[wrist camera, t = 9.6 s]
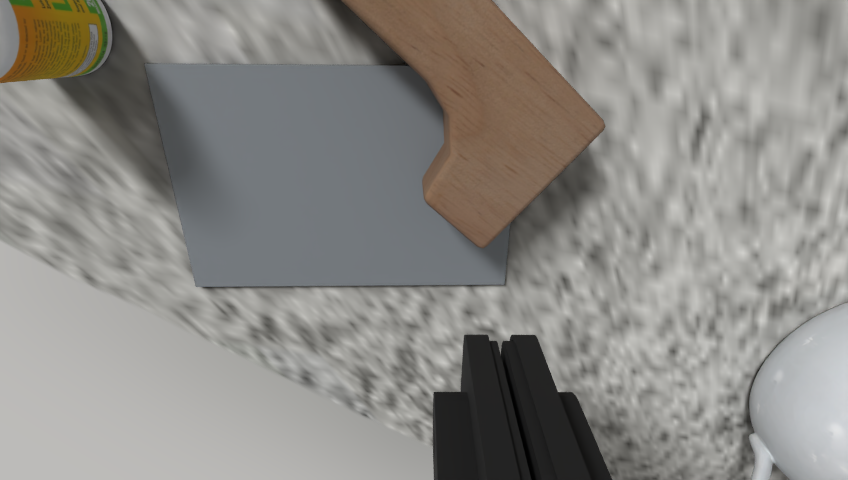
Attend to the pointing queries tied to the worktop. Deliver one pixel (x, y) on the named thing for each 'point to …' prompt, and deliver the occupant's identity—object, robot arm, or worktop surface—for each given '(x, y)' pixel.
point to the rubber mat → (310, 176)
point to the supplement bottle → (52, 38)
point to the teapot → (804, 402)
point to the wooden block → (485, 108)
